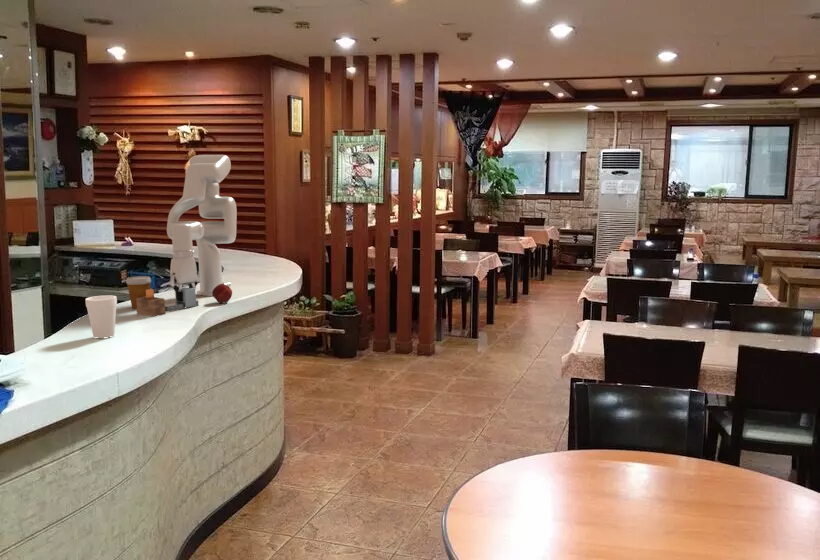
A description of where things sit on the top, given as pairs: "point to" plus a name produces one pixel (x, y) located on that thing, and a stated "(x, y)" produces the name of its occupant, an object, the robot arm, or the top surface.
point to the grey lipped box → (188, 296)
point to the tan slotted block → (150, 306)
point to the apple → (222, 293)
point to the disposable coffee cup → (137, 288)
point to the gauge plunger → (150, 294)
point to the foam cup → (102, 315)
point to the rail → (176, 306)
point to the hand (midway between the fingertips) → (185, 299)
